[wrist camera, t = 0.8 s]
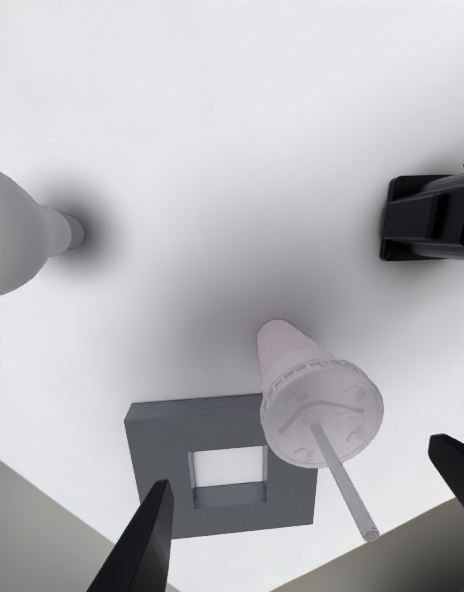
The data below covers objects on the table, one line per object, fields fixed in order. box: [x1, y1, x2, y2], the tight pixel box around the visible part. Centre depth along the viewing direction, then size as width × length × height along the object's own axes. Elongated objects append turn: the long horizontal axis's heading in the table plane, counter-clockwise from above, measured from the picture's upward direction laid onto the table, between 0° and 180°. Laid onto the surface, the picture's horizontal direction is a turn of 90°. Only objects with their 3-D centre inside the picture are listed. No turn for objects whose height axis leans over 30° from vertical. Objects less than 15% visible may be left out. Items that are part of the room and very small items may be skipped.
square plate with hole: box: [124, 394, 318, 540], centre depth 23 cm, size 18×16×2 cm
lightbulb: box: [0, 172, 84, 295], centre depth 12 cm, size 6×6×11 cm
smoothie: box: [257, 319, 384, 541], centre depth 14 cm, size 6×6×14 cm
